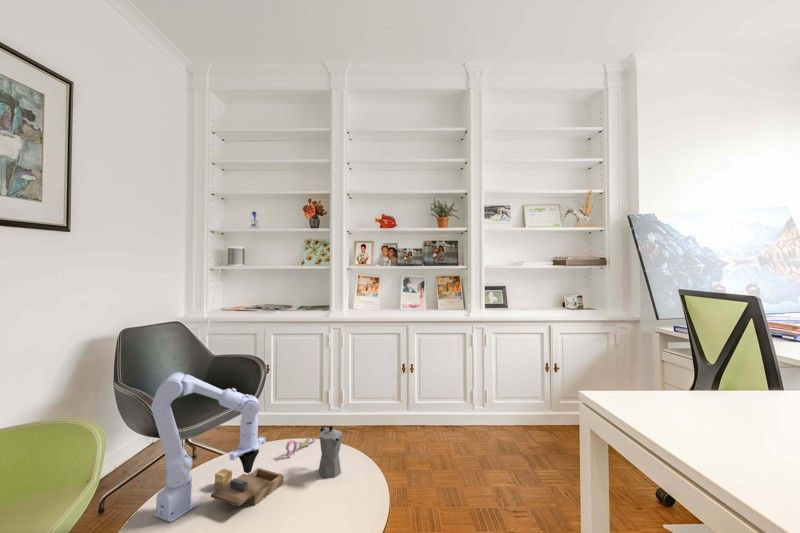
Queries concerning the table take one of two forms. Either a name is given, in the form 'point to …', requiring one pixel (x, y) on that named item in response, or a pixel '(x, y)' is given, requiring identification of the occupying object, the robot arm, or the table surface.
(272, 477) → the brown shallow open box
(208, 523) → the table surface
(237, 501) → the lid
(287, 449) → the decorative key
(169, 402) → the robot arm
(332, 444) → the coffeepot
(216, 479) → the wooden block
